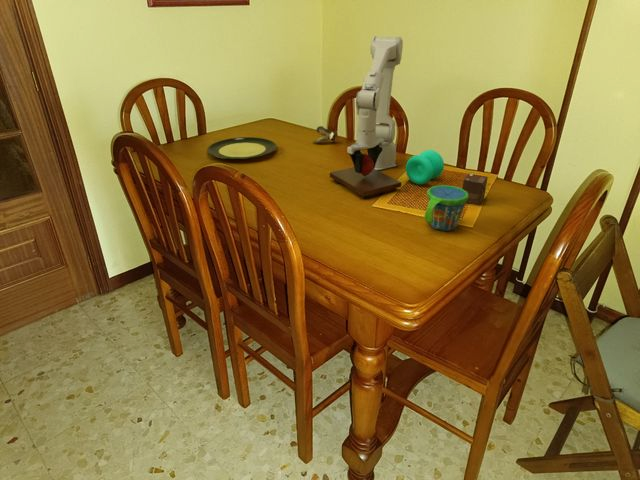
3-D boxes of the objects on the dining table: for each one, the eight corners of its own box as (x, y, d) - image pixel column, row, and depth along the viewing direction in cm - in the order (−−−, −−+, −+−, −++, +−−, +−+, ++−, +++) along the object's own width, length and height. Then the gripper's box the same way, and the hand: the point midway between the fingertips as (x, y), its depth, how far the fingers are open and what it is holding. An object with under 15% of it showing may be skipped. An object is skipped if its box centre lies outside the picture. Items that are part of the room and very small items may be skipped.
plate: (290, 149, 186) (290, 143, 185) (246, 169, 166) (246, 162, 165) (239, 138, 200) (239, 133, 198) (192, 156, 179) (191, 150, 178)
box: (479, 205, 137) (483, 183, 133) (459, 201, 139) (462, 179, 136) (484, 198, 141) (488, 176, 137) (465, 194, 144) (468, 173, 140)
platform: (365, 172, 162) (365, 164, 161) (400, 190, 147) (401, 182, 146) (329, 180, 156) (329, 172, 154) (363, 200, 141) (363, 191, 139)
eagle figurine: (336, 136, 197) (316, 132, 197) (338, 125, 190) (317, 121, 190) (333, 150, 193) (312, 145, 193) (335, 139, 187) (313, 135, 187)
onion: (374, 173, 152) (375, 150, 148) (372, 179, 147) (374, 156, 143) (356, 172, 153) (357, 149, 149) (355, 178, 148) (355, 155, 144)
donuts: (402, 181, 154) (405, 153, 149) (418, 173, 161) (421, 146, 156) (428, 189, 148) (431, 160, 143) (443, 180, 155) (447, 152, 150)
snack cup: (447, 212, 133) (452, 179, 128) (476, 225, 125) (482, 191, 120) (409, 226, 125) (412, 192, 120) (438, 241, 118) (443, 206, 113)
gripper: (373, 122, 149) (371, 162, 155) (341, 131, 141) (340, 172, 147) (389, 127, 144) (386, 167, 151) (356, 135, 136) (355, 178, 143)
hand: (364, 170), depth 149 cm, fingers closed on onion, 6 cm apart
